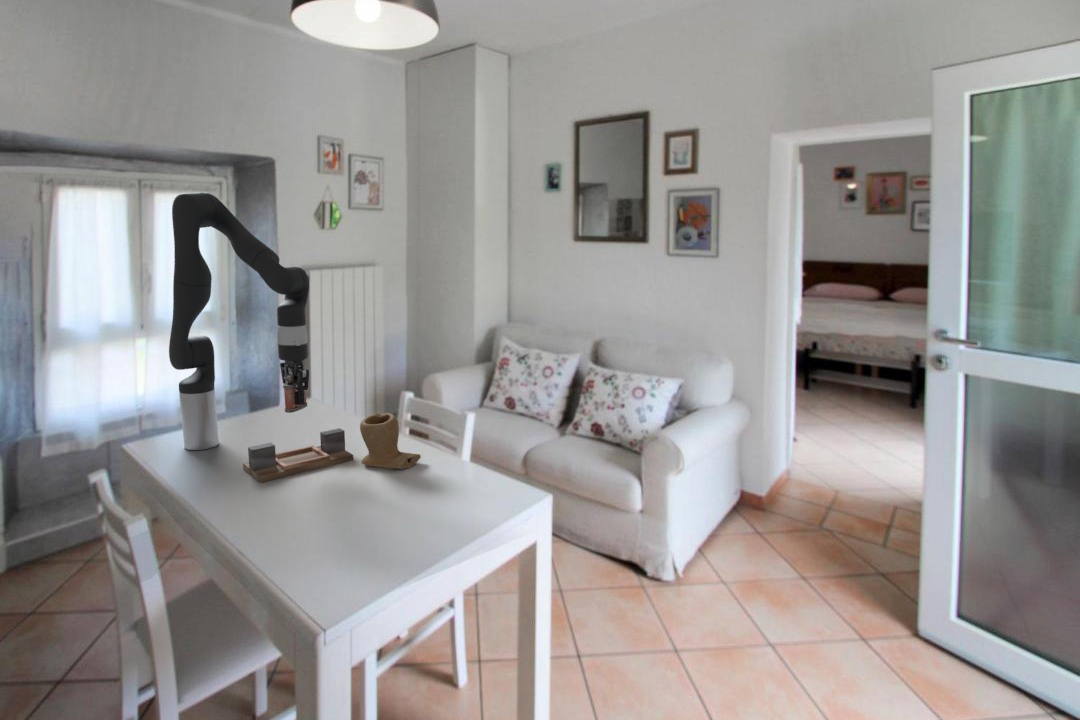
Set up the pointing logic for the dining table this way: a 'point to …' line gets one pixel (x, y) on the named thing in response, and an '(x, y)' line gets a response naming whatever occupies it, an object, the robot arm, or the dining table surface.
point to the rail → (297, 457)
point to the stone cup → (384, 443)
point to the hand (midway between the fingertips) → (295, 402)
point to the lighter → (292, 397)
